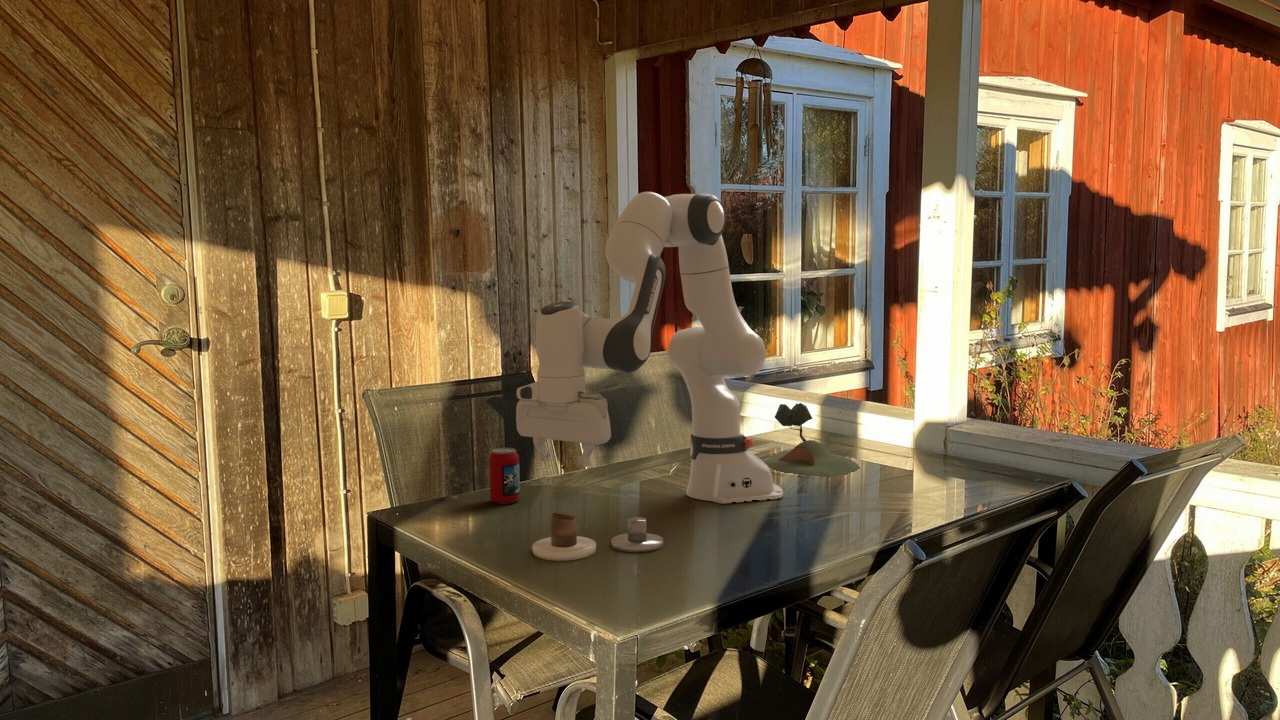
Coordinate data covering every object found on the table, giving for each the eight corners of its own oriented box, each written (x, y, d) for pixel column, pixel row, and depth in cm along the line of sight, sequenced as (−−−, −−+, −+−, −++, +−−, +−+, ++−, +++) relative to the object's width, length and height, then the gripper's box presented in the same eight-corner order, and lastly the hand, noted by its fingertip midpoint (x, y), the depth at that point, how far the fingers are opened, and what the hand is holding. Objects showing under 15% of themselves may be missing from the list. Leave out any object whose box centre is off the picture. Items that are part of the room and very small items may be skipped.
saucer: (594, 540, 186) (594, 533, 186) (597, 559, 175) (597, 551, 174) (533, 542, 185) (532, 535, 185) (531, 561, 173) (531, 554, 173)
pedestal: (660, 536, 189) (659, 511, 188) (666, 551, 179) (665, 525, 178) (609, 538, 188) (609, 513, 187) (613, 553, 178) (612, 527, 177)
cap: (581, 542, 181) (581, 512, 180) (567, 548, 176) (566, 518, 176) (560, 538, 183) (560, 509, 182) (546, 545, 179) (545, 515, 178)
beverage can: (514, 505, 214) (513, 453, 213) (486, 504, 216) (484, 452, 215) (524, 498, 221) (522, 447, 220) (496, 497, 222) (494, 446, 221)
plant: (788, 450, 277) (788, 389, 276) (892, 468, 252) (893, 401, 250) (720, 465, 258) (720, 399, 256) (826, 486, 232) (827, 413, 231)
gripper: (616, 391, 174) (618, 465, 175) (531, 385, 185) (534, 454, 187) (595, 396, 168) (598, 472, 170) (509, 389, 180) (512, 461, 182)
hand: (564, 463), depth 178 cm, fingers open, 8 cm apart
